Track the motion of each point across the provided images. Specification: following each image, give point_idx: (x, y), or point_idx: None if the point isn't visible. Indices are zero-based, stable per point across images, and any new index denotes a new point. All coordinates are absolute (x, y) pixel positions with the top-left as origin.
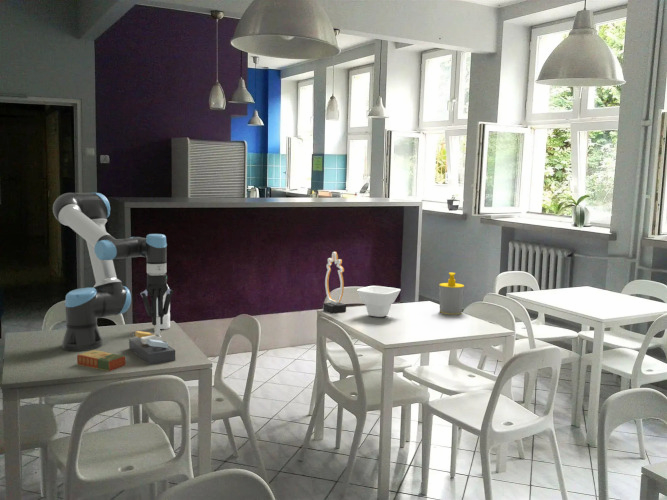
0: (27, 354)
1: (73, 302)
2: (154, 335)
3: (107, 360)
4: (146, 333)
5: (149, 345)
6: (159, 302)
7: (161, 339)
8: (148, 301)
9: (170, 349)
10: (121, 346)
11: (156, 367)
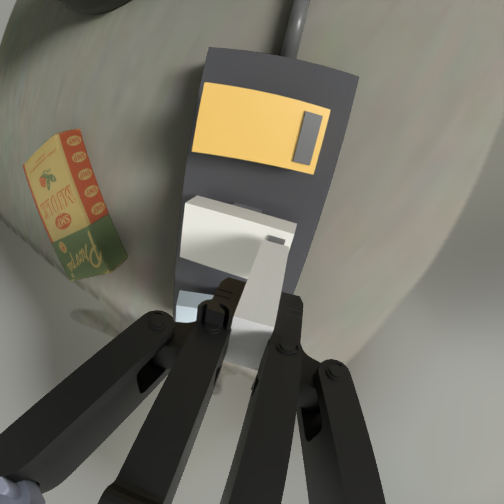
0: (24, 10)
1: None
2: (261, 237)
3: (68, 274)
4: (255, 147)
5: None
6: (223, 494)
7: None
8: (81, 462)
9: None
10: (220, 7)
11: None
